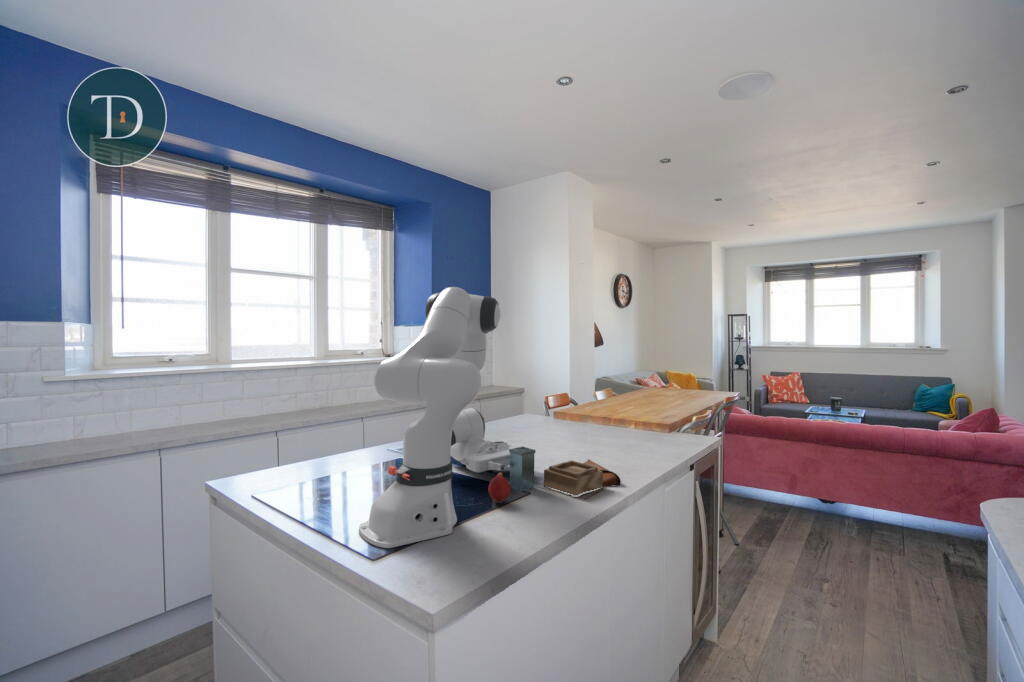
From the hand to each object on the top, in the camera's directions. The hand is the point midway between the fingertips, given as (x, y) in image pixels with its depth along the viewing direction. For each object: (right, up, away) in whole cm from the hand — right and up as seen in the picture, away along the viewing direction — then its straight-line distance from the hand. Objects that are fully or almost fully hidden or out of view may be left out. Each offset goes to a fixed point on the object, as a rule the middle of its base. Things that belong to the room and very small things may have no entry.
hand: (514, 464), depth 140 cm
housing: (+2, -6, -2) cm, 7 cm away
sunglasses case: (+25, -7, +7) cm, 27 cm away
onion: (-4, -6, -15) cm, 17 cm away
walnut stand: (+17, -6, -2) cm, 18 cm away
